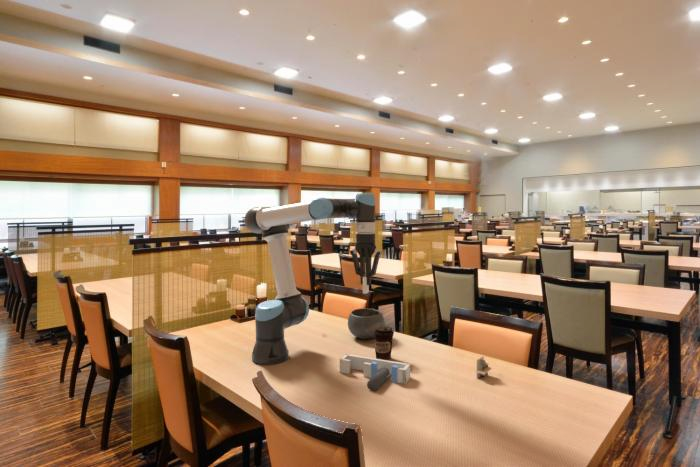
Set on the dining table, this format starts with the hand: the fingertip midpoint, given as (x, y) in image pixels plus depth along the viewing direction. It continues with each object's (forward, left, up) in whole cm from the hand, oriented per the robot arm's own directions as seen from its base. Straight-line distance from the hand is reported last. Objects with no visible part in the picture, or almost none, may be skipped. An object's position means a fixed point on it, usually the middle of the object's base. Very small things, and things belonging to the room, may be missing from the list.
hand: (365, 292), depth 156 cm
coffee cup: (+4, +10, -30) cm, 32 cm away
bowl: (-13, +33, -30) cm, 46 cm away
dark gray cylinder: (+11, -13, -29) cm, 34 cm away
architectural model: (+43, +8, -30) cm, 53 cm away
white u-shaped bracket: (+6, -6, -29) cm, 31 cm away
